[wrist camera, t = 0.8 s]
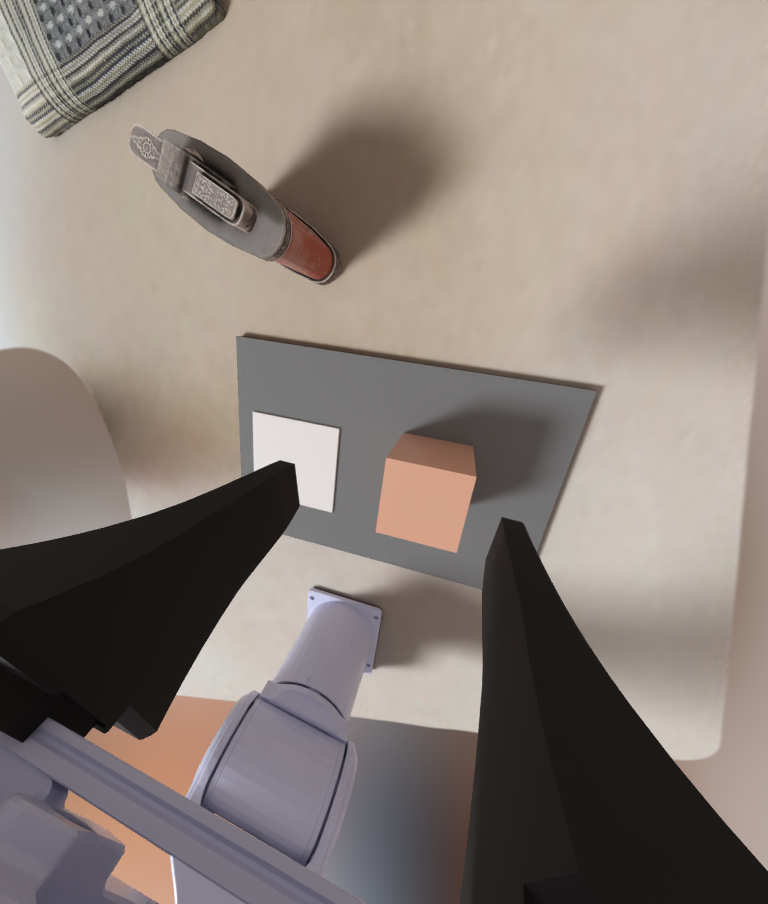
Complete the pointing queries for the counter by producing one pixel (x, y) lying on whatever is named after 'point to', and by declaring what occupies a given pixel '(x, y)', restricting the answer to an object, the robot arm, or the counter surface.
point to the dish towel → (91, 50)
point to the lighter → (233, 204)
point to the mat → (382, 424)
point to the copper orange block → (426, 491)
